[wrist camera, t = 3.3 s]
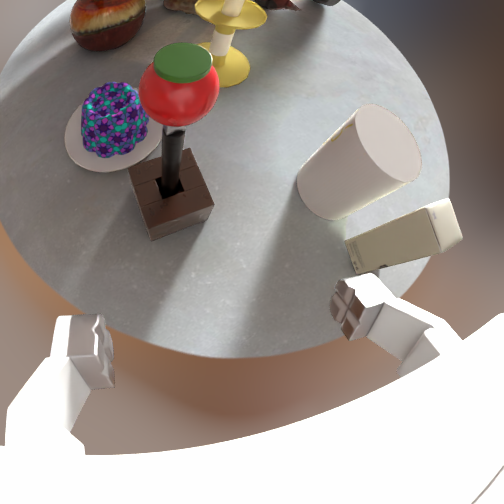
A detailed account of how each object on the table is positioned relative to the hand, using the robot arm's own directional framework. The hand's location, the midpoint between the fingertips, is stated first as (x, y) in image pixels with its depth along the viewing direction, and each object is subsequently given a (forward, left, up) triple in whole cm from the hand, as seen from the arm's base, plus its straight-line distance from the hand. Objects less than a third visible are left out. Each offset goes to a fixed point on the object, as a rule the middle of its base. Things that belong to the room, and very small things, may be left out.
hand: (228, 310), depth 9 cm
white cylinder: (+6, -20, -18) cm, 28 cm away
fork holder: (+10, -2, -18) cm, 21 cm away
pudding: (+21, +1, -18) cm, 28 cm away
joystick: (+10, -2, -18) cm, 21 cm away
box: (-3, -21, -18) cm, 28 cm away
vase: (+40, -1, -18) cm, 44 cm away
